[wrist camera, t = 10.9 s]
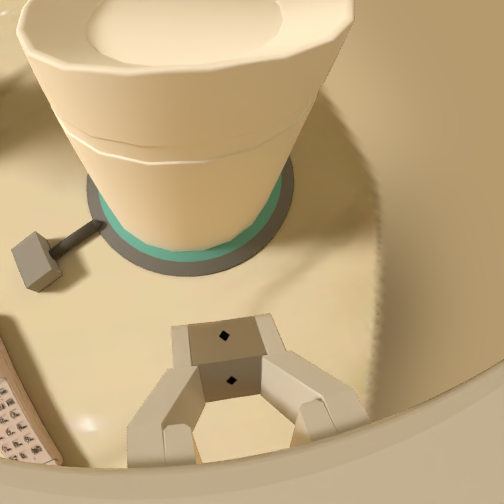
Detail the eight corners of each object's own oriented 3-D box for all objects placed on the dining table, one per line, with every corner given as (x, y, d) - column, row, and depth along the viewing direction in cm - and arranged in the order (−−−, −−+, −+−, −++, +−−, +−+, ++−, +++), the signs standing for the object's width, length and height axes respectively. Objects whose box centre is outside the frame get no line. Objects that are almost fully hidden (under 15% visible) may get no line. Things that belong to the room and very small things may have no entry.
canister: (87, 241, 26) (-47, 93, 7) (128, 100, 30) (100, -64, 11) (266, 262, 28) (386, 115, 9) (275, 115, 32) (336, -49, 13)
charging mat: (2, 194, 26) (-9, 184, 24) (220, 71, 33) (221, 56, 31) (80, 370, 23) (69, 373, 21) (333, 201, 31) (342, 191, 29)
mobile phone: (58, 561, 13) (-79, 310, 16) (75, 533, 18) (-44, 317, 22) (106, 551, 14) (-44, 280, 18) (118, 520, 20) (-10, 292, 24)
